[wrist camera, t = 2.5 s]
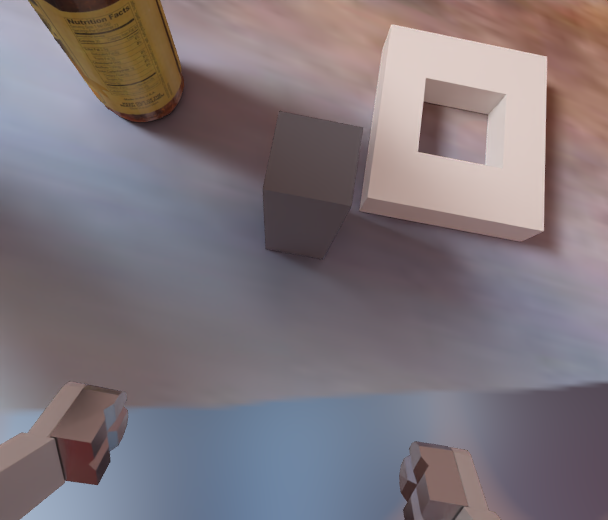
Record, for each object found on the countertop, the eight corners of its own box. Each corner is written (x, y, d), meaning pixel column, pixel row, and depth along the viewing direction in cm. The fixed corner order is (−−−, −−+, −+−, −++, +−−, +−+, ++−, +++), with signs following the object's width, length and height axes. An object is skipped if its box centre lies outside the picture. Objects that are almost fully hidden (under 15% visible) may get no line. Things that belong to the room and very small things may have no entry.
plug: (265, 248, 27) (262, 188, 18) (276, 195, 28) (279, 110, 18) (323, 259, 27) (351, 205, 18) (331, 206, 28) (363, 127, 19)
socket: (359, 210, 28) (367, 197, 26) (382, 49, 32) (391, 24, 29) (520, 241, 29) (543, 231, 26) (526, 79, 32) (547, 56, 30)
